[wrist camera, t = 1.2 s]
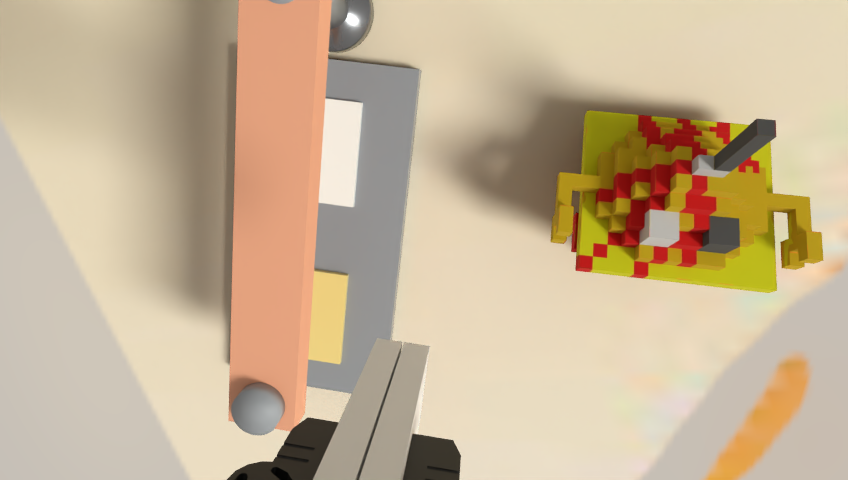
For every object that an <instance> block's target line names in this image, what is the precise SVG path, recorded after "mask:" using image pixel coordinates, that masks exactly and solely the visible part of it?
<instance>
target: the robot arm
mask: <svg viewBox="0 0 848 480" xmlns="http://www.w3.org/2000/svg"><path fill="white" fill-rule="evenodd" d="M429 347H430V346H425V345H418V344H412V343H406V342H404V345H403V348H402V342H399V341H393V340H386V339H380V338H377V340H376V342H375V344H374V346H373V348H372V351H371V353H370V355H369V357H368V359H367V362H366V364H365V366H364V368H363V370H362V373H361V375H360V377H359V379H358V381H357V384H356V386H355V388H354V390H353V392H352V395H351V397H350V399H349V401H348V403H347V406H346V408H345V410H344V412H343V414H342V417H341V419H340V421H339V423H338V422H332V421H326V420H320V419H314V418H307V419H305V420H304V421H302V422H301V423H299V424H298V425H297V426H295V427H294V428H293V429H292V430H291V432H290V434H289V435H288V437H287V439H286V440H285V442H284V445H283V446H282V447H281V449H280V451H279V452H278V454H277V457H275V459H274V461H273V462H258V463H253V464H248V465H246V466H244V467H242V468H240V469H238V470H236V471H235V472H234V473H233V474H232V475H231V476H230V477H229V478H228V479H227V480H459V475H460V474H459V473H460V459H461V455H460V453H459V451H458V449H457V447H456V445H455V443H454V441H453V440H448V439H442V438H436V437H430V436H424V435H418V430H419V424H420V416H421V409H422V401H423V393H424V386H425V378H426V370H427V363H428V355H429ZM401 348H402V351H401Z"/></svg>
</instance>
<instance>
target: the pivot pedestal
mask: <svg viewBox="0 0 848 480" xmlns="http://www.w3.org/2000/svg"><path fill="white" fill-rule="evenodd" d="M347 2H348V15H347V18H346V20H345V21H344V22H343V24H341V25H340V26H339V27H336V28H333V29H330V36H329V52H336V53H339V52H346V51H349V50H351V49H353V48H355V47H357V46H358V45H359V44H360V43H361V42H362V41H363V40H364V39H365V38H366V37H367V35H368V33H369V31H370V29H371V26H372V23H373V16H374V10H373V3H372V0H347Z"/></svg>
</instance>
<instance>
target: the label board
mask: <svg viewBox="0 0 848 480" xmlns="http://www.w3.org/2000/svg"><path fill="white" fill-rule="evenodd" d="M420 77H421V70H419V69H411V68H402V67H393V66H385V65H376V64H368V63H359V62H350V61H342V60H333V59H328V67H327V82H326V97H325V112H324V127H323V143H322V158H321V173H320V188H319V203H318V218H317V234H316V249H315V264H314V279H313V294H312V310H311V325H310V340H309V355H308V370H307V386H309V387H315V388H321V389H327V390H334V391H340V392H346V393H352V392H353V390H354V388H355V386H356V384H357V381H358V379H359V377H360V375H361V373H362V370H363V368H364V366H365V364H366V362H367V359H368V357H369V355H370V353H371V351H372V348H373V346H374V344H375V342H376V340H377V338H380V339H386V340H392V333H393V324H394V315H395V306H396V296H397V287H398V278H399V269H400V260H401V251H402V242H403V232H404V223H405V214H406V205H407V196H408V187H409V178H410V169H411V159H412V150H413V141H414V132H415V123H416V114H417V105H418V96H419V86H420Z"/></svg>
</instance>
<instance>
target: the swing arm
mask: <svg viewBox="0 0 848 480" xmlns="http://www.w3.org/2000/svg"><path fill="white" fill-rule="evenodd" d="M347 15H348V2H347V0H239V6H238V48H237V90H236V132H235V174H234V216H233V258H232V300H231V342H230V383H229V421H233V422H235V423H236V424H237V426H238V427H239V428H241V429H242V430H243V431H245V432H247V433H249V434H253V435H264V434H267V433H269V432H271V431H272V430H273V429H280V430H286V431H291V430H292V429H293V428H294V427H295V426H297V425H298V424H299V422H300V420H301V418H302V417H303V415H304V413H305V401H306V386H307V370H308V355H309V340H310V325H311V310H312V294H313V279H314V264H315V249H316V234H317V218H318V203H319V188H320V173H321V158H322V143H323V127H324V112H325V97H326V82H327V67H328V51H329V36H330V29H333V28H336V27H339V26H340V25H341V24H343V22H344V21H345V20H346V18H347Z"/></svg>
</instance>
